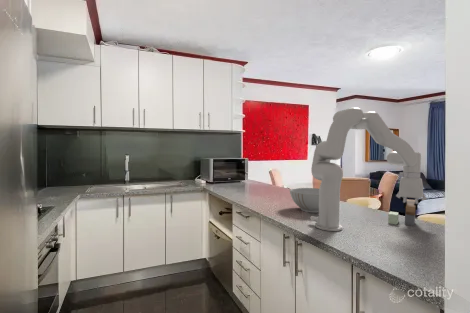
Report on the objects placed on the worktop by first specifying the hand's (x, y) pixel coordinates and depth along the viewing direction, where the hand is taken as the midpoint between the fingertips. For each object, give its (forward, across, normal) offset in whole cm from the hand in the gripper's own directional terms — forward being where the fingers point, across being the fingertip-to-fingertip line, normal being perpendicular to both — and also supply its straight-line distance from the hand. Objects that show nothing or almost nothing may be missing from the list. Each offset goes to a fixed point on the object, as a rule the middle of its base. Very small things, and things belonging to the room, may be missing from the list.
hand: (410, 210), depth 138 cm
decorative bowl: (+7, -51, -5) cm, 52 cm away
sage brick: (+7, -7, -3) cm, 11 cm away
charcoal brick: (+7, 0, 0) cm, 7 cm away
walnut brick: (+1, 0, +2) cm, 2 cm away
